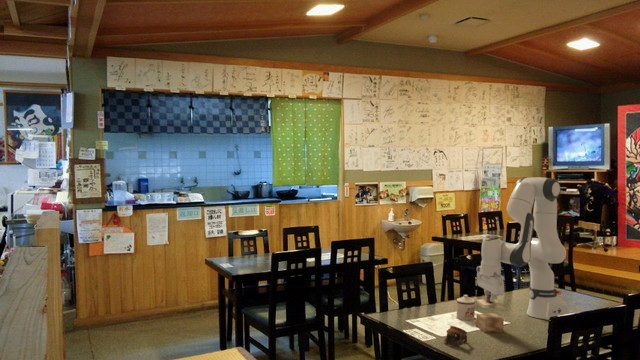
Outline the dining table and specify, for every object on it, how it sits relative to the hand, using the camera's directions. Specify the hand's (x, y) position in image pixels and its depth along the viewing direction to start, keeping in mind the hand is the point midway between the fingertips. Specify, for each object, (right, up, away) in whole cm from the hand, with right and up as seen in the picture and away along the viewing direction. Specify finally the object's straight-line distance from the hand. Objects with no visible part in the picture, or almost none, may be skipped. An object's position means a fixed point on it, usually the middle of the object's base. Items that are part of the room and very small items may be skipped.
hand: (489, 300), depth 234 cm
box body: (0, -14, 0) cm, 14 cm away
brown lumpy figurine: (-21, -14, -20) cm, 32 cm away
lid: (0, -2, 0) cm, 2 cm away
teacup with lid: (-5, -13, +18) cm, 23 cm away
